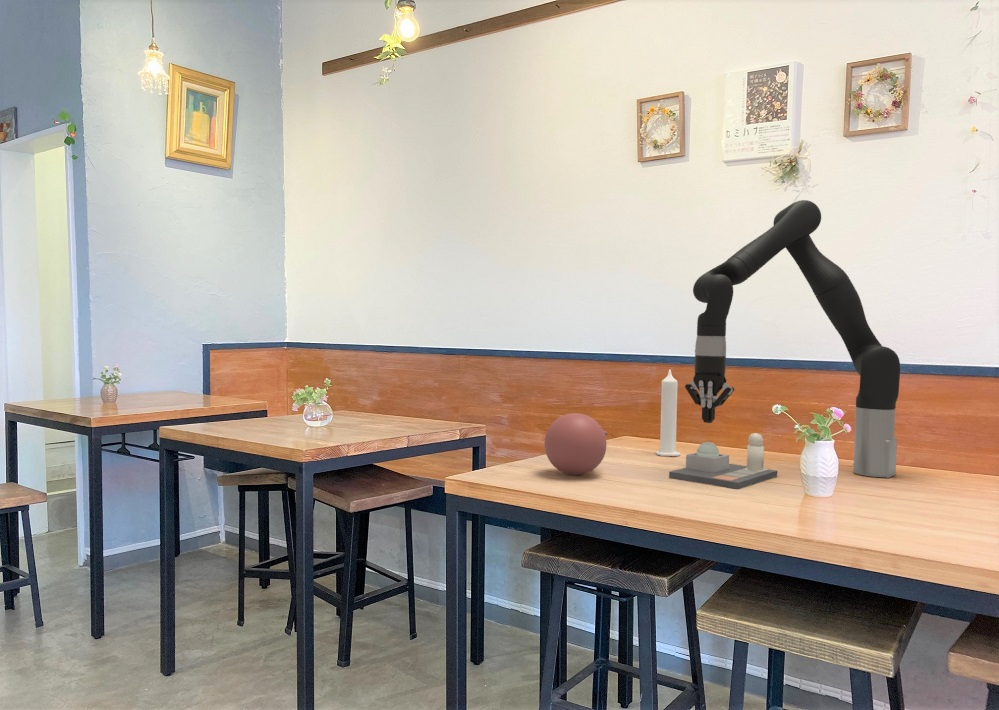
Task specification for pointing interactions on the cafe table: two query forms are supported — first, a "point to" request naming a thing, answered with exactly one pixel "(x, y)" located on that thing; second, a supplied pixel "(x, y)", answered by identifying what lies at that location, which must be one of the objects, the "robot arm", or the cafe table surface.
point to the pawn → (755, 452)
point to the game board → (720, 472)
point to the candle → (668, 417)
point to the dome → (708, 450)
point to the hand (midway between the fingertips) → (707, 422)
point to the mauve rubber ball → (575, 444)
